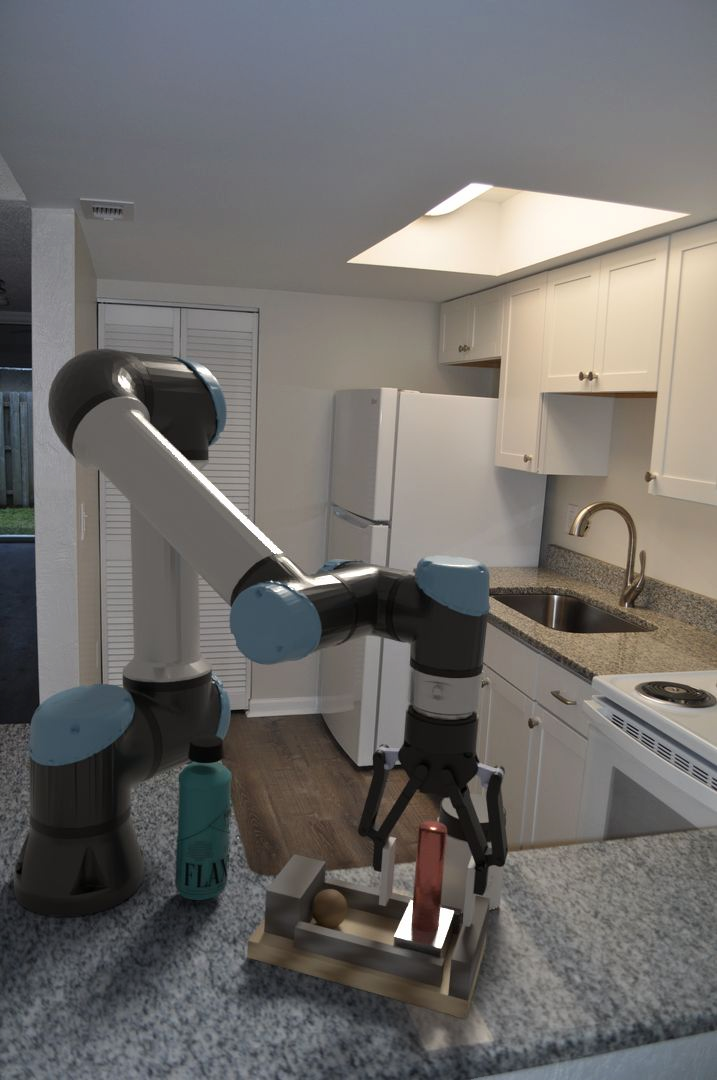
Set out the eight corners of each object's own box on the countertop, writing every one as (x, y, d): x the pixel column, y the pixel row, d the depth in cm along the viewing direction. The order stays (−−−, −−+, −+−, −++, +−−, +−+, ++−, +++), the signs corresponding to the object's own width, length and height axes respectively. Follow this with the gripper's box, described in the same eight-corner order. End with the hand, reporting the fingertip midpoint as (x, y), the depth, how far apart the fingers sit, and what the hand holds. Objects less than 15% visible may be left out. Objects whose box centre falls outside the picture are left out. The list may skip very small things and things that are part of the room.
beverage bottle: (174, 915, 94) (179, 752, 91) (172, 883, 101) (176, 729, 98) (231, 909, 96) (237, 749, 93) (224, 878, 102) (231, 727, 100)
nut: (309, 935, 90) (303, 901, 90) (322, 915, 94) (316, 882, 93) (343, 936, 88) (337, 901, 88) (354, 915, 92) (348, 882, 92)
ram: (392, 962, 85) (401, 838, 83) (408, 924, 92) (417, 808, 90) (438, 974, 84) (449, 848, 82) (452, 935, 91) (462, 817, 88)
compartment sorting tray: (247, 957, 88) (249, 897, 87) (289, 897, 99) (292, 844, 98) (466, 1019, 81) (472, 954, 80) (485, 947, 92) (490, 890, 91)
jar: (459, 925, 96) (467, 830, 94) (417, 889, 103) (424, 800, 101) (514, 904, 101) (523, 813, 99) (470, 871, 108) (478, 786, 106)
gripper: (334, 701, 84) (321, 904, 87) (543, 737, 77) (521, 954, 81) (356, 680, 91) (344, 868, 94) (550, 712, 84) (530, 912, 88)
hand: (426, 908), depth 87 cm, fingers open, 8 cm apart
